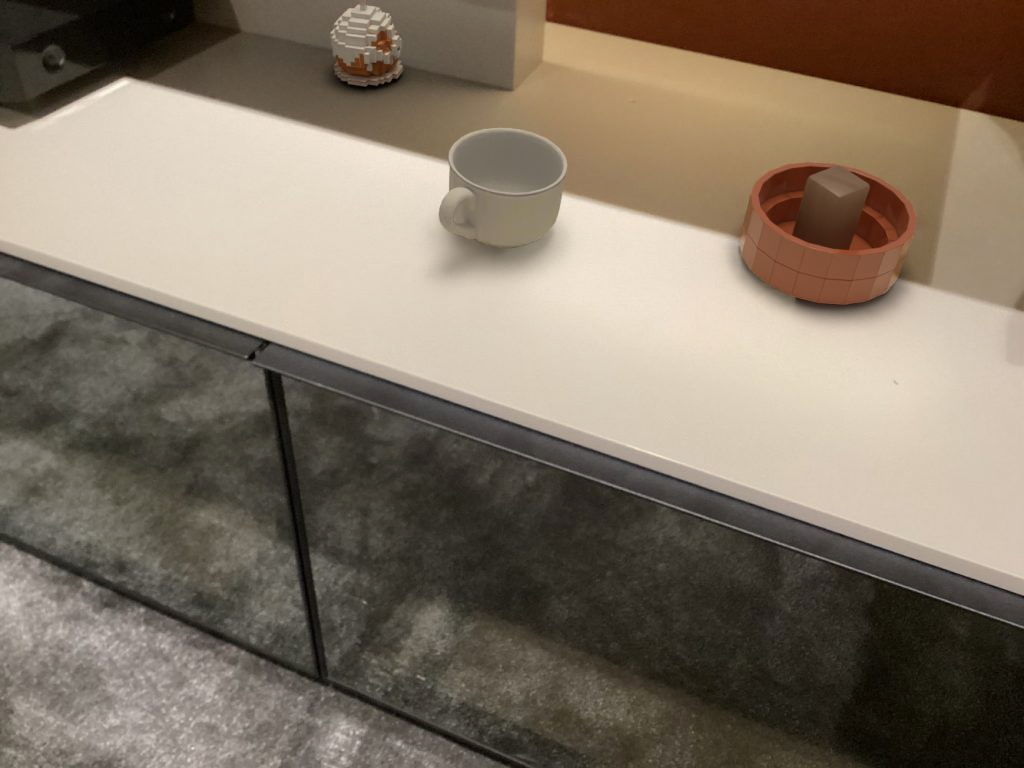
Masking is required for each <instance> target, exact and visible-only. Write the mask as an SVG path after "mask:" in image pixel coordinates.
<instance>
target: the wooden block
mask: <svg viewBox="0 0 1024 768" xmlns="http://www.w3.org/2000/svg"><path fill="white" fill-rule="evenodd" d="M842 166H843V165H842ZM842 166H834V167H832V168H829V169H826V170H824V171H821V172H818V173H816V174H813V175H810V176H809V178H808V179H807V183H806V186H805V190H804V193H803V197H802V201H801V204H800V208H799V211H798V215H797V219H796V222H795V226H794V229H793V233H792V236H794V237H797V238H799V239H801V240H803V241H806V242H808V243H811V244H815V245H820V246H824V247H828V248H832V249H841V250H849V248H850V245H851V242H852V239H853V236H854V233H855V230H856V227H857V224H858V221H859V218H860V215H861V212H862V209H863V206H864V203H865V200H866V197H867V194H868V191H869V188H870V185H869V184H868V183H867V182H865V181H863V180H862V179H860V178H859V177H857V176H856V175H854V174H853V173H851V172H849V171H848V170H846V169H845V168H843V167H842Z"/></svg>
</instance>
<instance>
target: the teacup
mask: <svg viewBox="0 0 1024 768" xmlns="http://www.w3.org/2000/svg"><path fill="white" fill-rule="evenodd" d="M447 161H448V162H447V163H448V166H449V170H448V171H449V172H448V174H449V175H448V192H447V193H446V194H445V195H444V197H443V199H442V201H441V203H440V205H439V209H438V220H439V223H440V225H441V226H442V227H443V228H444V229H445V230H446V231H447V232H449V233H452V234H454V235H458V236H462V237H464V238H466V239H468V240H473V239H474V240H475V241H477V242H479V243H481V244H483V245H485V246H489V247H491V248H496V249H497V248H498V249H515V248H520V247H523V246H526V245H529V244H531V243H533V242H536V241H537V240H540V239H541V238H542V237H544V236H545V235H547V233H549V231H551V230H552V228H553V226H554V225H555V224H556V221H557V219H558V216H559V212H560V210H561V209H560V208H561V204H562V198H563V194H564V193H563V192H564V185H565V180H566V179H565V178H566V176H567V173H568V167H569V166H568V160H567V157H566V155H565V154H564V152H563V150H561V148H559V146H558V145H557V144H555V143H553V142H552V141H551V140H550V139H548V138H547V137H546V136H542V135H539V134H537V133H534V132H532V131H529V130H524V129H519V128H511V127H491V128H489V127H487V128H483V129H478V130H475V131H472V132H469V133H466V134H464V135H462V136H461V137H460V138H458V140H456V141H455V142H454V143H453V144H452V145H451V147H450V149H449V151H448V157H447Z"/></svg>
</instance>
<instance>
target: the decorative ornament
mask: <svg viewBox="0 0 1024 768" xmlns="http://www.w3.org/2000/svg"><path fill="white" fill-rule="evenodd" d="M329 36H330V45H331V53H332V57H333V58H335V60H336V62H335V63H334V64H333V70H334V75H335V76H337V78H339V79H340V81H342V82H347V84H348V85H354V86H360V87H367V86H368V85H371V86H379V84H381V85H384V84H385V83H391V81H393V79H395V80H397V79H398V78H399V77H400V76H401V74H402V72H403V71H404V65H402V60H399V58H400V56H401V52H402V51H401V50H402V48H403V43H402V37H401V35H398V30H396V27H395V25H394V23H393V21H392V16H391V15H390V12H389V13H388V12H384V11H383V10H382V9H381V7H378V6H373V5H367V0H359V4H356V5H355V6H354V8H352V7H348V8H347V9H346V11H344V12H343V13H342V14H341V15H340V16H339V17H338V18H337V20H335V22H334V24H333V29H332V30H331V31H330V32H329Z"/></svg>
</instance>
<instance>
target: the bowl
mask: <svg viewBox="0 0 1024 768" xmlns="http://www.w3.org/2000/svg"><path fill="white" fill-rule="evenodd" d="M834 166H842V167H843V168H845V169H846V170H848V171H849V172H851V173H853V174H854V175H856V176H857V177H859V178H860V179H862V180H863V181H865V182H867V183H868V184H869V185H870V188H869V191H868V194H867V197H866V200H865V203H864V206H863V209H862V212H861V215H860V218H859V221H858V224H857V227H856V230H855V233H854V236H853V239H852V242H851V245H850V248H849V250H841V249H832V248H828V247H824V246H820V245H815V244H811V243H808V242H806V241H803V240H801V239H799V238H797V237H794V236H792V233H793V229H794V226H795V222H796V219H797V215H798V211H799V208H800V204H801V201H802V197H803V193H804V190H805V186H806V183H807V179H808V178H809V176H810V175H813V174H816V173H818V172H821V171H824V170H826V169H829V168H832V167H834ZM917 225H918V216H917V213H916V210H915V208H914V206H913V204H912V202H911V201H910V200H909V199H908V198H907V197H906V195H904V193H902V191H901V190H900V189H898V188H896V187H895V186H893V185H892V184H890V183H889V182H887V181H885V180H884V179H882V178H880V177H878V176H876V175H874V174H872V173H868V172H866V171H864V170H861V169H859V168H855V167H850V166H846V165H841V164H836V163H828V162H813V161H812V162H811V161H810V162H809V161H806V162H798V163H797V162H796V163H787V164H785V165H782V166H779V167H775V168H774V169H770V170H768V171H767V172H765V173H764V174H763V175H761V177H759V178H758V179H757V180H755V182H754V184H753V187H752V189H751V191H750V194H749V199H748V203H747V207H746V211H745V216H744V219H743V223H742V228H741V232H740V237H739V249H740V255H741V259H742V260H743V262H744V263H745V264H746V266H747V267H748V269H749V270H750V272H752V274H754V275H755V276H756V277H758V278H759V279H760V280H761V281H763V282H764V283H765V284H766V285H768V286H770V287H772V288H774V289H776V290H778V291H780V292H782V293H784V294H787V295H788V296H791V297H793V298H797V299H801V300H805V301H808V302H812V303H815V304H817V303H818V304H829V305H843V306H844V305H850V304H858V303H864V302H868V301H871V300H872V299H875V298H878V297H879V296H881V295H883V294H886V293H887V292H888V291H889V290H890V289H891V287H893V285H894V284H895V283H896V282H897V280H898V278H899V275H900V273H901V270H902V267H903V265H904V262H905V260H906V258H907V254H908V252H909V249H910V246H911V244H912V241H913V239H914V236H915V234H916V230H917Z"/></svg>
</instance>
